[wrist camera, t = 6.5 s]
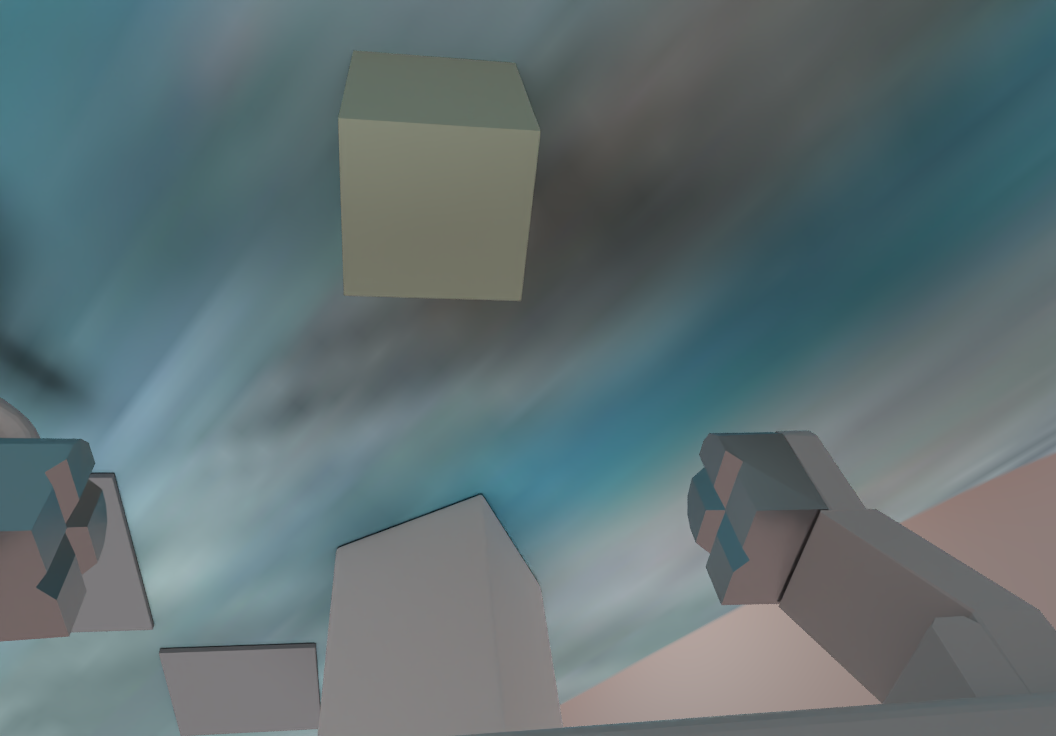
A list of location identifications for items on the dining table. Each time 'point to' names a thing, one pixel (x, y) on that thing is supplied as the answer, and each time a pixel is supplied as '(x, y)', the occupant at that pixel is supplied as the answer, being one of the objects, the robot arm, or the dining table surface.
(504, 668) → the milk
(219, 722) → the grey square coaster
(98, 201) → the dining table surface
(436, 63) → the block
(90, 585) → the thin grey square tile
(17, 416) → the cup
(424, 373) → the dining table surface
